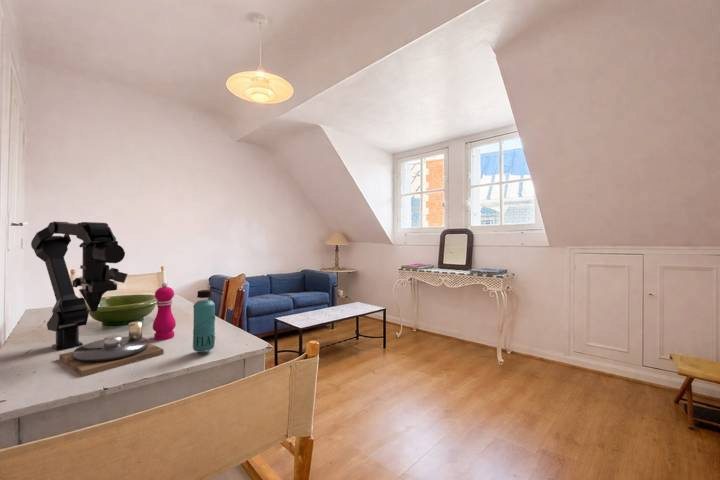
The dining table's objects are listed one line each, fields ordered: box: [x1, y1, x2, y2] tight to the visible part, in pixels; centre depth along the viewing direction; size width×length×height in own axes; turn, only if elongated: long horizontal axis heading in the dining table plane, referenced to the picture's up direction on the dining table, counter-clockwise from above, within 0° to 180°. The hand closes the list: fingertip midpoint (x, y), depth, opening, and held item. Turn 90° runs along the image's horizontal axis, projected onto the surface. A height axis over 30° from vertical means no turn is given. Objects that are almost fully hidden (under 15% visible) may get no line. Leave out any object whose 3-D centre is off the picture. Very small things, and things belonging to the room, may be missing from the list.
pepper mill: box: [152, 282, 177, 341], centre depth 117 cm, size 7×7×20 cm
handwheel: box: [73, 321, 149, 362], centre depth 98 cm, size 18×18×7 cm
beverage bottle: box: [192, 289, 216, 353], centre depth 103 cm, size 6×7×20 cm
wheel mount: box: [58, 342, 165, 377], centre depth 98 cm, size 20×20×2 cm
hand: (94, 311), depth 102 cm, fingers closed
